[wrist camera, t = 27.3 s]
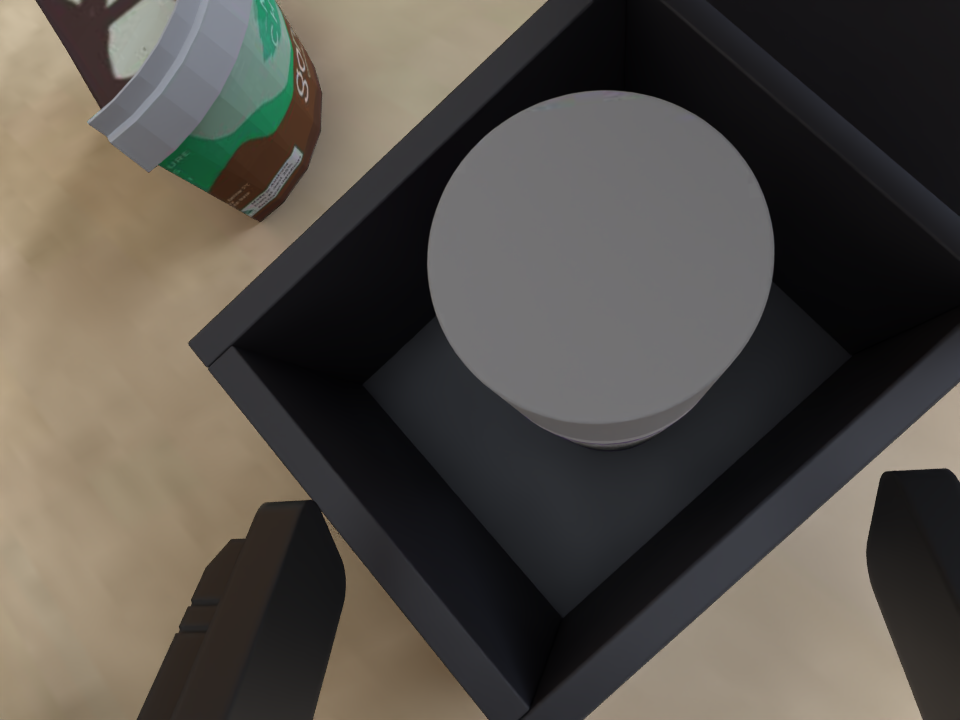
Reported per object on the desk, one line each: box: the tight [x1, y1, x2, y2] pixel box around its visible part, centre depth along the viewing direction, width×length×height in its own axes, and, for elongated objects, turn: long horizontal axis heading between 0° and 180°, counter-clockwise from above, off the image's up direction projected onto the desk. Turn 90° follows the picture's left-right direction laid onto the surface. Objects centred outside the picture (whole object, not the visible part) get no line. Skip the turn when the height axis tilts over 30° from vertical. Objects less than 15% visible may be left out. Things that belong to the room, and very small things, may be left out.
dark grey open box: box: [188, 0, 960, 720], centre depth 20 cm, size 14×12×10 cm
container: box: [427, 90, 774, 451], centre depth 17 cm, size 5×5×15 cm
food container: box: [36, 0, 322, 222], centre depth 24 cm, size 12×6×10 cm, turn 33°
